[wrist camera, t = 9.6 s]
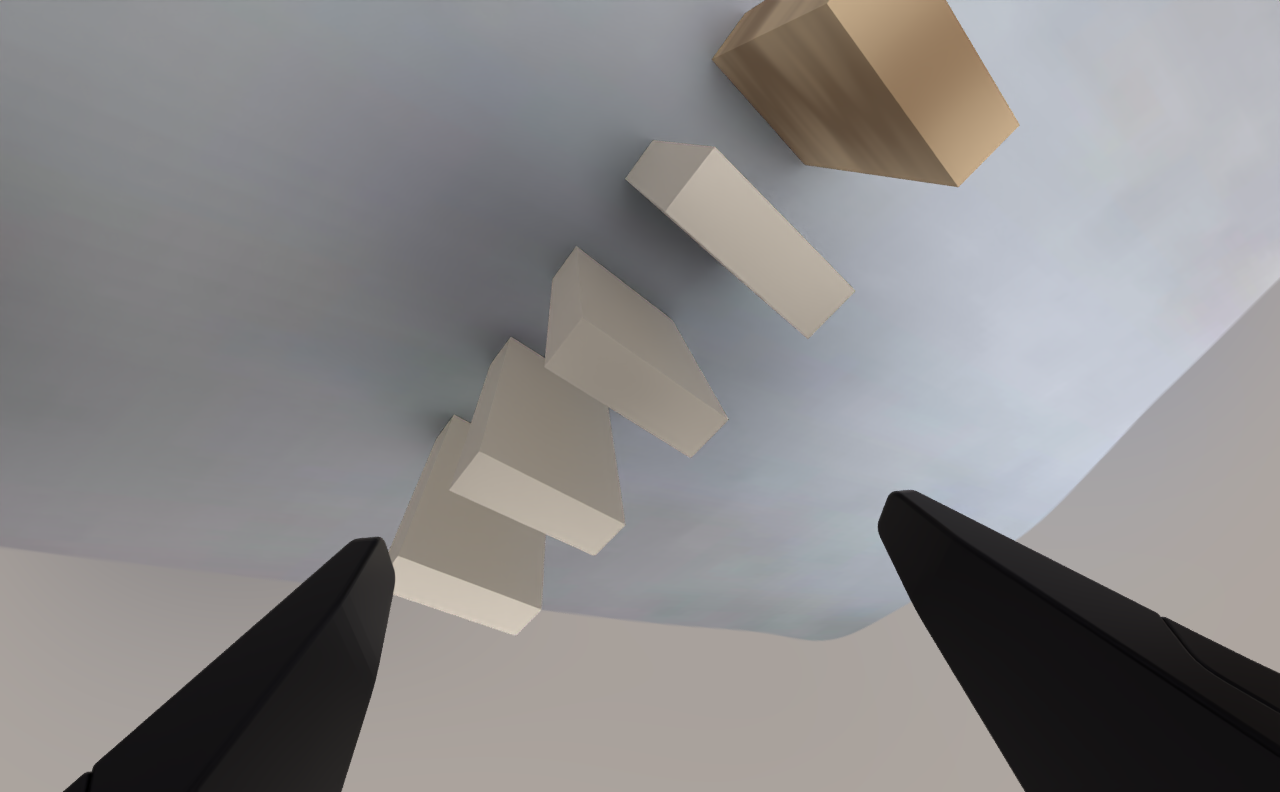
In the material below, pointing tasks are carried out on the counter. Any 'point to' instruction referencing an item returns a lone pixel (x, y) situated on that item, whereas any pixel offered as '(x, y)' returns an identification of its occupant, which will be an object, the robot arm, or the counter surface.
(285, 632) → the robot arm
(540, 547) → the domino
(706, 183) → the domino
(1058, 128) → the counter surface
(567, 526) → the domino
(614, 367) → the domino
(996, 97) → the maple domino
